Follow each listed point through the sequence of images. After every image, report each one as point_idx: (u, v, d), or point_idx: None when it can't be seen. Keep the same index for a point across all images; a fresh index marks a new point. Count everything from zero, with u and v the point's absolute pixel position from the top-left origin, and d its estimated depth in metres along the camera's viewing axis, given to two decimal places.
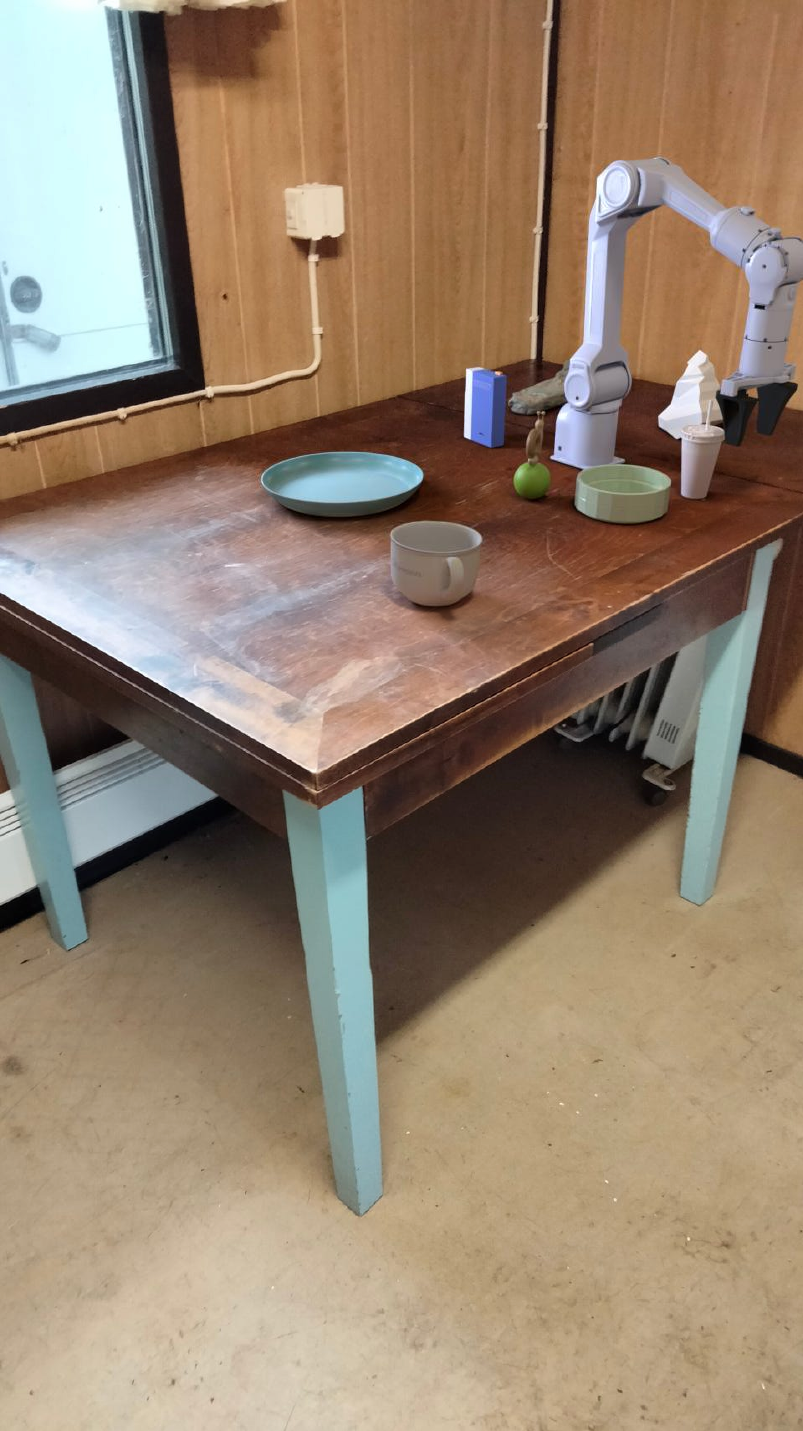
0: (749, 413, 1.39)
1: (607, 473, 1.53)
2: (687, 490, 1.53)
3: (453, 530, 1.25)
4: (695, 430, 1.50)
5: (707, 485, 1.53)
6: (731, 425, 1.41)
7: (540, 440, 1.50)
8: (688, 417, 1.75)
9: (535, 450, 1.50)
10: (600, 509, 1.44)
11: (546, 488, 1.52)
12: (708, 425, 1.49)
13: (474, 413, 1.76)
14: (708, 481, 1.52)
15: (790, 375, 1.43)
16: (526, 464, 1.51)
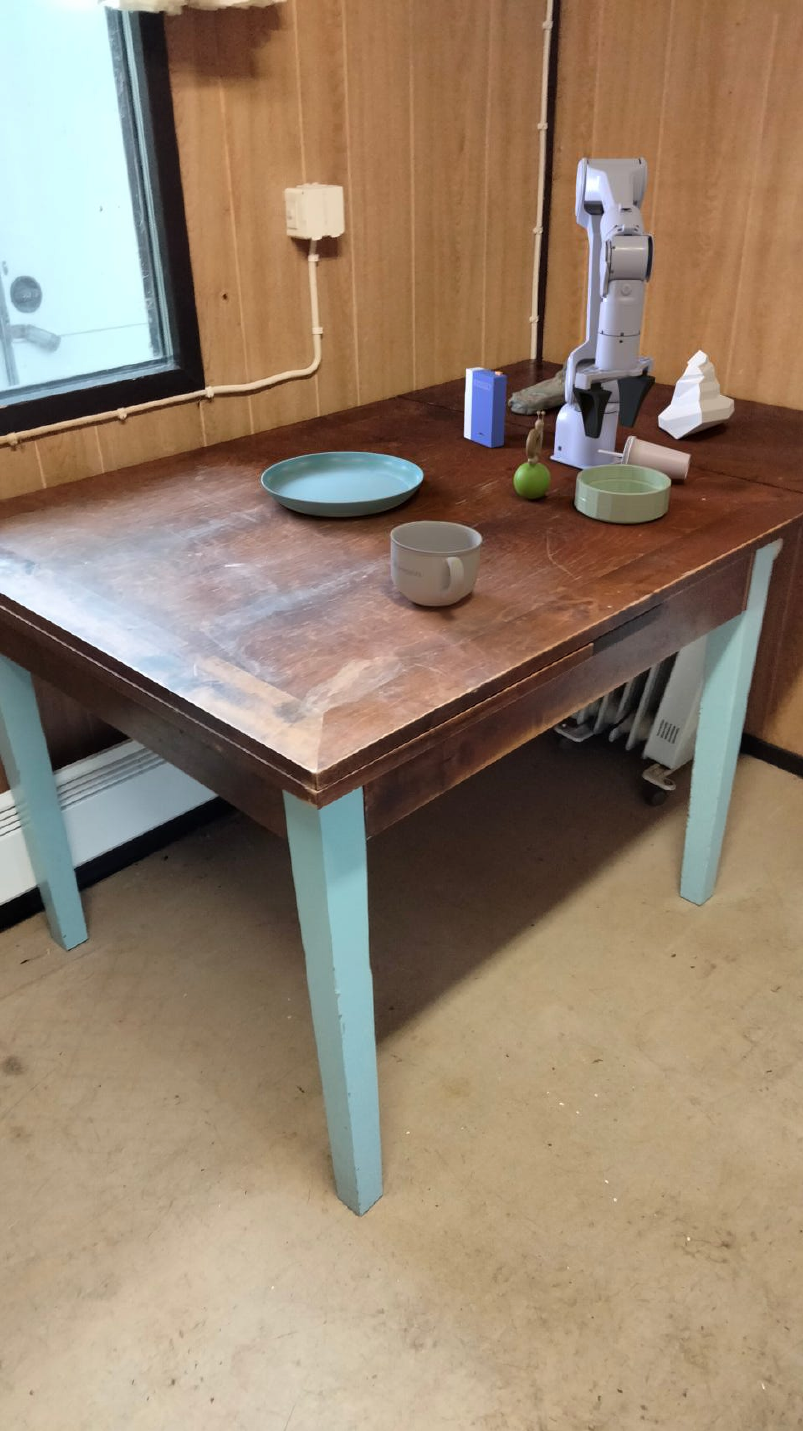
0: (604, 406, 1.41)
1: (607, 473, 1.53)
2: (682, 454, 1.56)
3: (453, 530, 1.25)
4: None
5: None
6: (589, 418, 1.44)
7: (540, 440, 1.50)
8: (688, 417, 1.75)
9: (535, 450, 1.50)
10: (600, 509, 1.44)
11: (546, 488, 1.52)
12: (620, 453, 1.61)
13: (474, 413, 1.76)
14: None
15: (648, 369, 1.46)
16: (526, 464, 1.51)
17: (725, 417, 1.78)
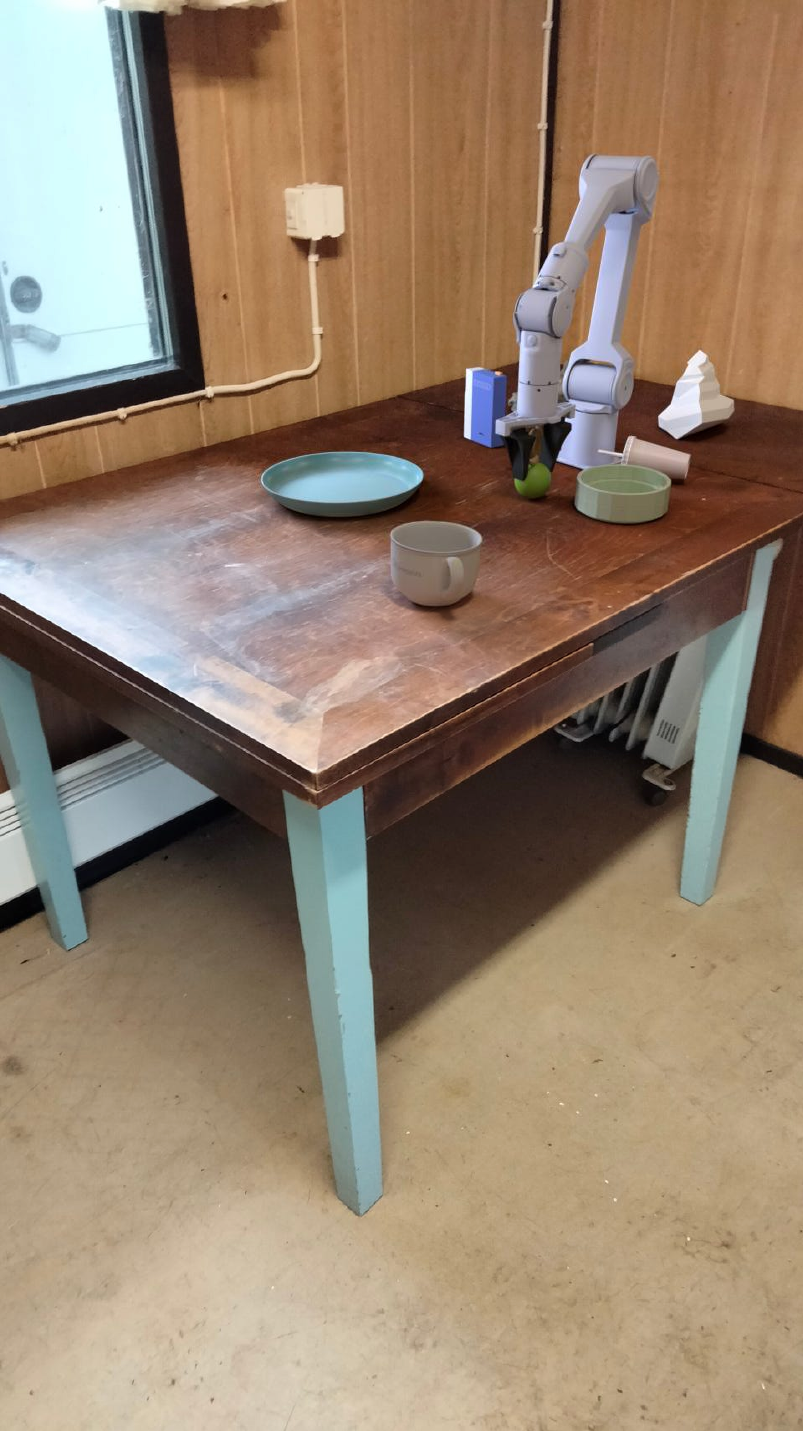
0: (529, 450, 1.47)
1: (607, 473, 1.53)
2: (682, 454, 1.56)
3: (453, 530, 1.25)
4: None
5: None
6: (516, 461, 1.50)
7: (540, 439, 1.50)
8: (688, 417, 1.75)
9: (535, 450, 1.50)
10: (600, 509, 1.44)
11: (547, 487, 1.52)
12: (620, 453, 1.61)
13: (474, 413, 1.76)
14: None
15: (570, 414, 1.51)
16: None
17: (725, 417, 1.78)
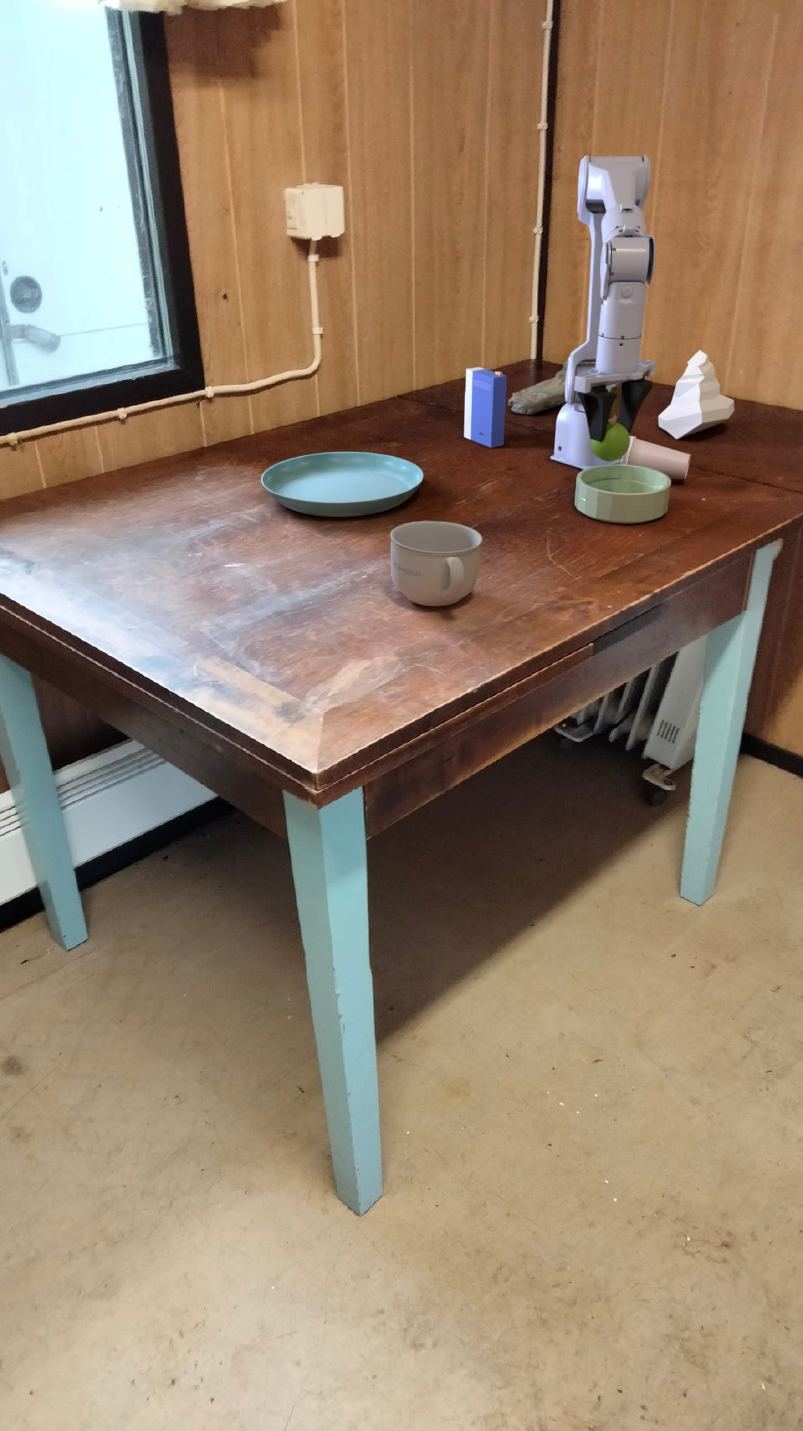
0: (609, 408, 1.40)
1: (607, 473, 1.53)
2: (682, 454, 1.56)
3: (453, 530, 1.25)
4: None
5: None
6: (594, 420, 1.42)
7: (619, 398, 1.43)
8: (688, 417, 1.75)
9: (614, 409, 1.43)
10: (600, 509, 1.44)
11: (626, 449, 1.44)
12: None
13: (474, 413, 1.76)
14: None
15: (650, 372, 1.44)
16: None
17: (725, 417, 1.78)
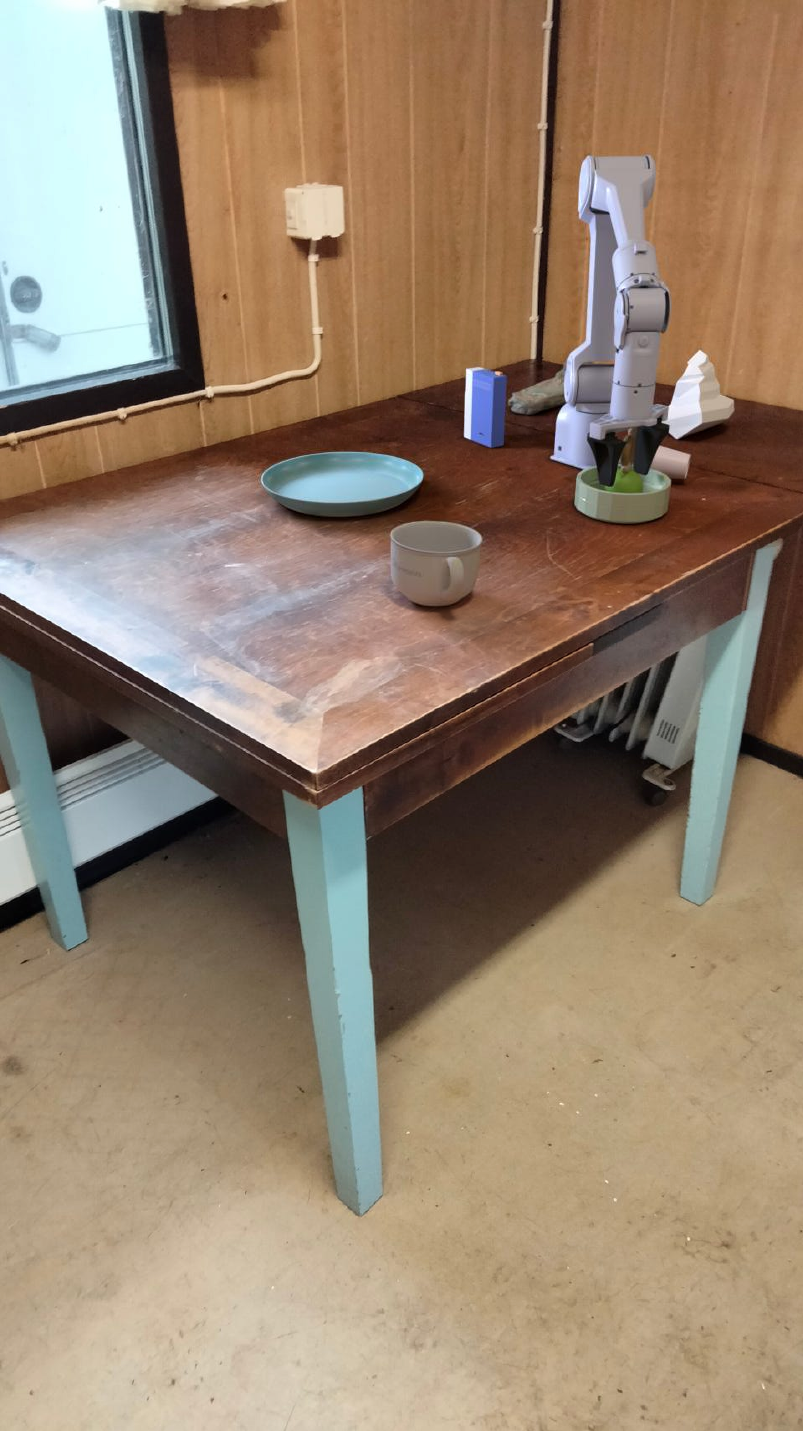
0: (618, 455, 1.42)
1: None
2: (682, 454, 1.56)
3: (453, 530, 1.25)
4: None
5: None
6: (603, 466, 1.44)
7: (634, 447, 1.46)
8: (688, 417, 1.75)
9: (628, 457, 1.46)
10: (600, 509, 1.44)
11: None
12: None
13: (474, 413, 1.76)
14: None
15: (663, 417, 1.46)
16: (619, 471, 1.46)
17: (725, 417, 1.78)
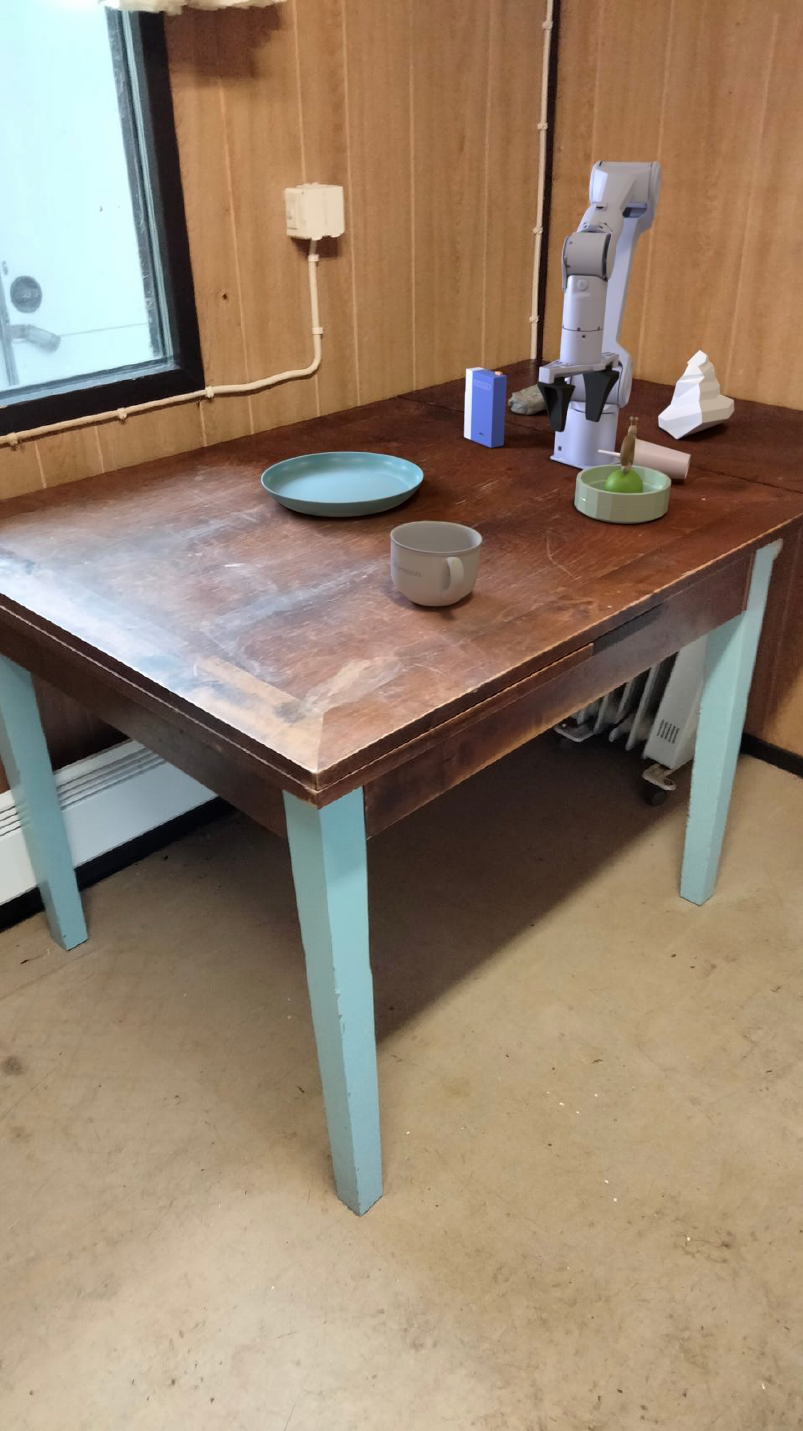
0: (568, 400, 1.44)
1: (607, 473, 1.53)
2: (682, 454, 1.56)
3: (453, 530, 1.25)
4: None
5: None
6: (554, 411, 1.46)
7: (634, 447, 1.46)
8: (688, 417, 1.75)
9: (628, 457, 1.46)
10: (600, 509, 1.44)
11: None
12: None
13: (474, 413, 1.76)
14: None
15: (613, 363, 1.49)
16: (619, 471, 1.46)
17: (725, 417, 1.78)
